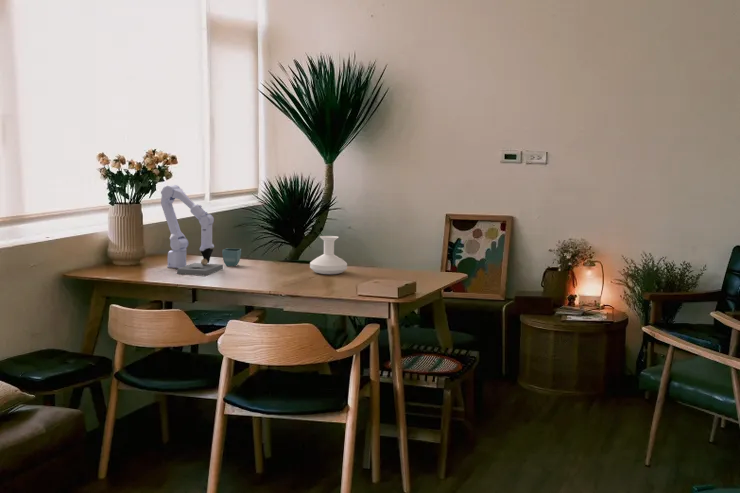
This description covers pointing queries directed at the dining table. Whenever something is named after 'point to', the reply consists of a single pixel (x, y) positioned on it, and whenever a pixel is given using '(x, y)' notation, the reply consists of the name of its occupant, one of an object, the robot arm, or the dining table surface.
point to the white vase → (328, 259)
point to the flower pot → (231, 256)
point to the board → (199, 269)
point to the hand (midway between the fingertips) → (206, 262)
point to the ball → (204, 261)
